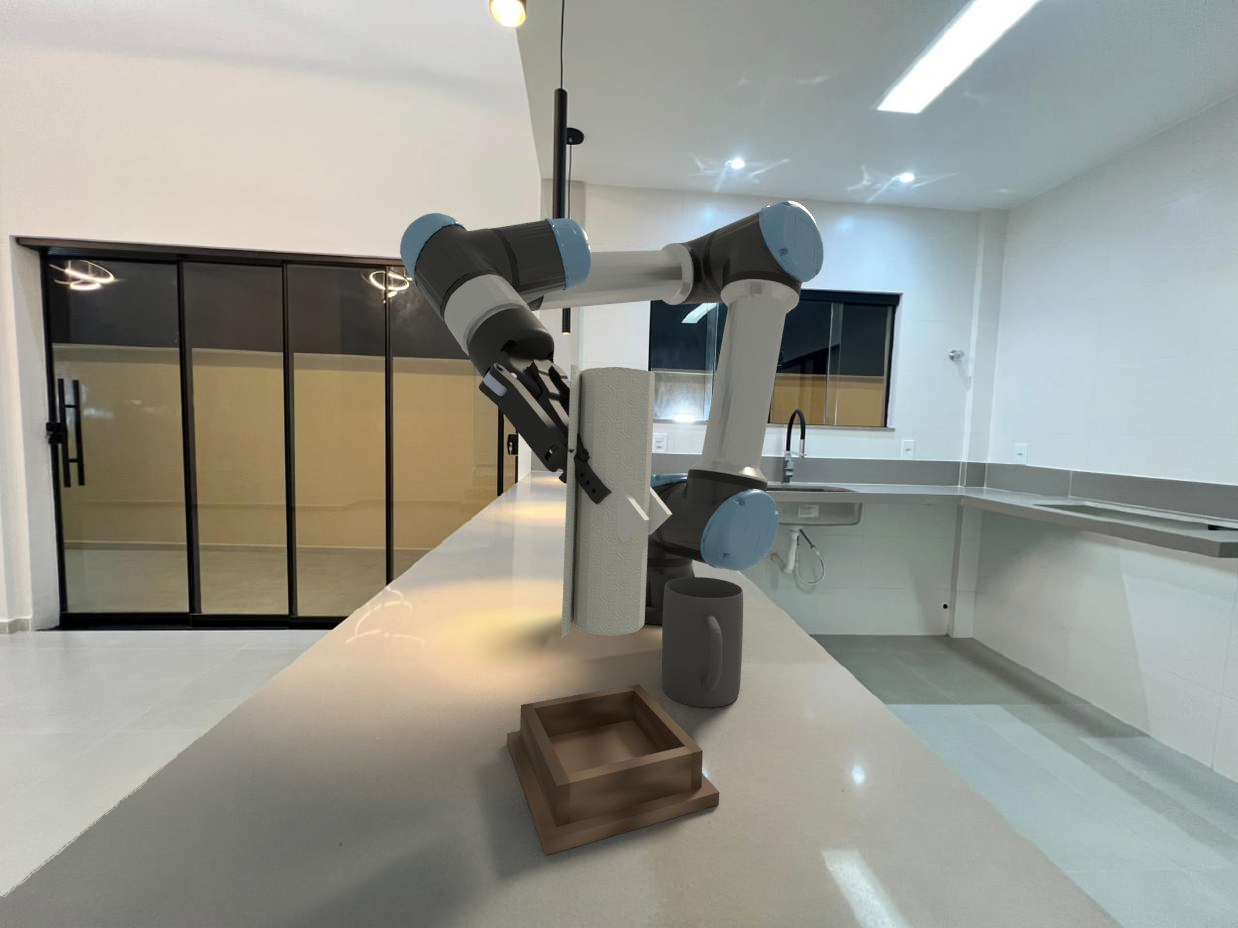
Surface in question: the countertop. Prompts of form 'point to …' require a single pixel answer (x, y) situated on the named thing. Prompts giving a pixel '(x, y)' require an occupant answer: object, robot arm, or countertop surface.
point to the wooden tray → (605, 766)
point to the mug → (702, 641)
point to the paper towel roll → (607, 500)
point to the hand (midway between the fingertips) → (647, 527)
